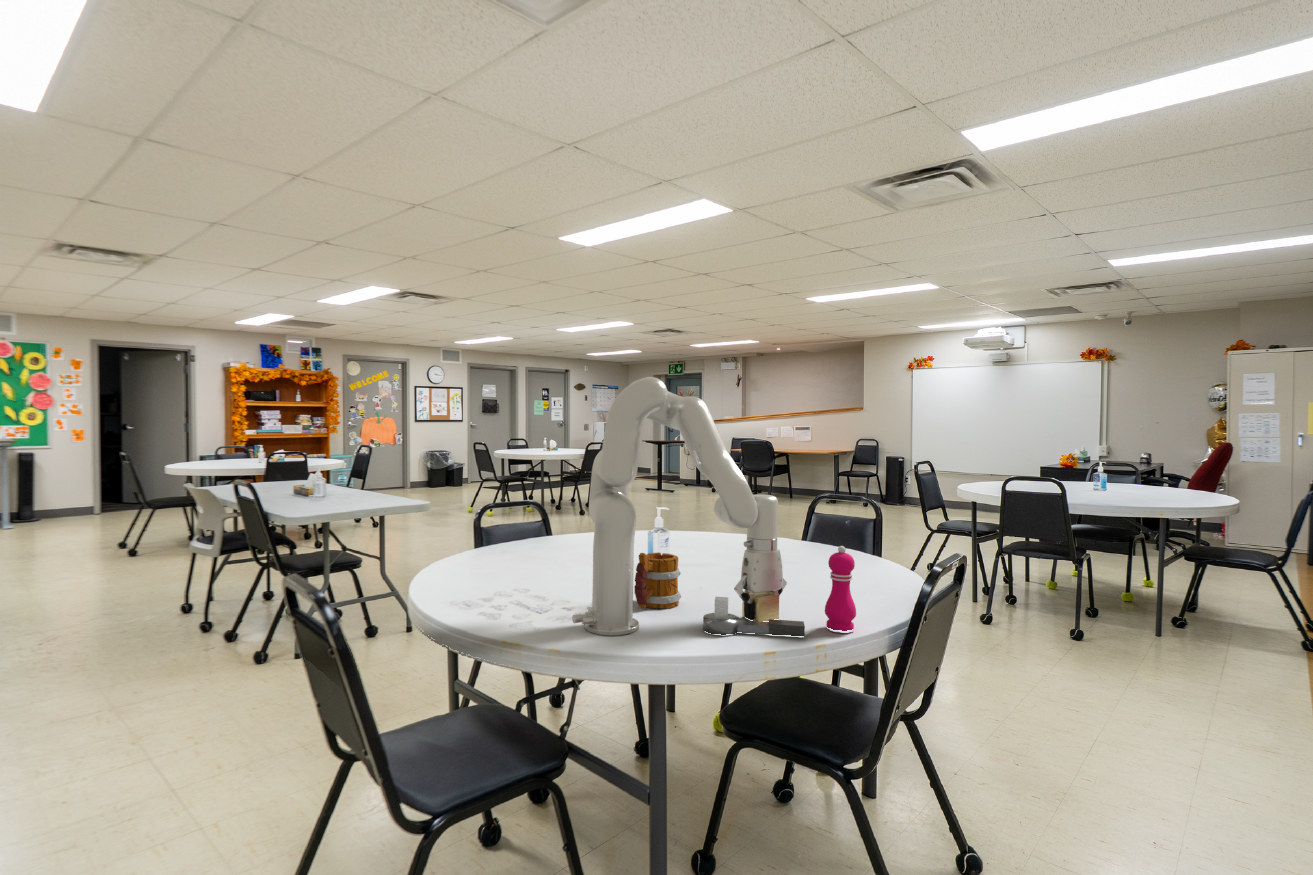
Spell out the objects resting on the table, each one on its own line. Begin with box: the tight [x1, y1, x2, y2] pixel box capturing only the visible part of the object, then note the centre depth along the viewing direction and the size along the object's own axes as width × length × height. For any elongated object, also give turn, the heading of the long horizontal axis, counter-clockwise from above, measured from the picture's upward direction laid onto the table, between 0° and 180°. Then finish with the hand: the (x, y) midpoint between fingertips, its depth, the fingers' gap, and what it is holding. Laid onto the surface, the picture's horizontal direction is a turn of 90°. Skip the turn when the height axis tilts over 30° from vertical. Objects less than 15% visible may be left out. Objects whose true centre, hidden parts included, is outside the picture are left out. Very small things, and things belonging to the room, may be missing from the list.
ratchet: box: [702, 596, 806, 637], centre depth 150 cm, size 23×8×8 cm, turn 81°
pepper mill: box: [824, 545, 857, 631], centre depth 154 cm, size 7×7×20 cm
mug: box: [633, 552, 682, 610], centre depth 171 cm, size 11×16×15 cm, turn 146°
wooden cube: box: [741, 591, 780, 622], centre depth 161 cm, size 6×6×6 cm
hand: (760, 615), depth 161 cm, fingers closed on wooden cube, 6 cm apart
